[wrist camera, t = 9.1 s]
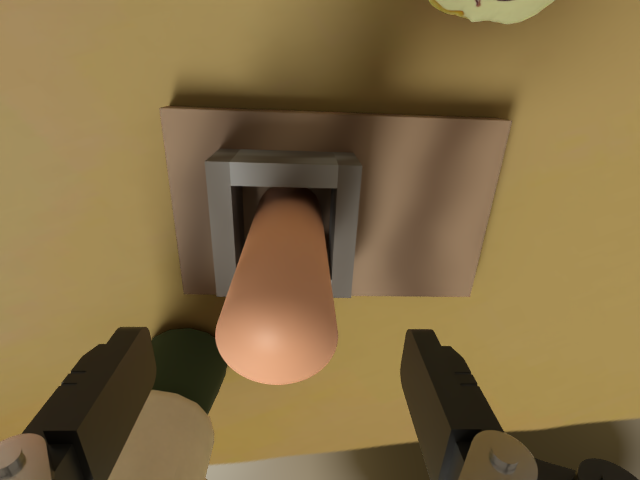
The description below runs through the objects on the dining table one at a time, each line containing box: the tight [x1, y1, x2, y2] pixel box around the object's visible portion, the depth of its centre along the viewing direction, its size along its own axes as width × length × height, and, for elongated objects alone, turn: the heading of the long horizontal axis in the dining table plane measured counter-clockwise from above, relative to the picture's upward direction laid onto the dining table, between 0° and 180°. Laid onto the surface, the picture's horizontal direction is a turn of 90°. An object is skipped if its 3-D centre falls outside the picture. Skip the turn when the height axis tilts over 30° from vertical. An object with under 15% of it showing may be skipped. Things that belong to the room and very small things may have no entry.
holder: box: [159, 106, 512, 298], centre depth 22 cm, size 20×12×5 cm, turn 88°
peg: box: [215, 187, 338, 385], centre depth 18 cm, size 4×4×12 cm
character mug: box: [108, 328, 227, 480], centre depth 23 cm, size 11×7×13 cm, turn 39°
